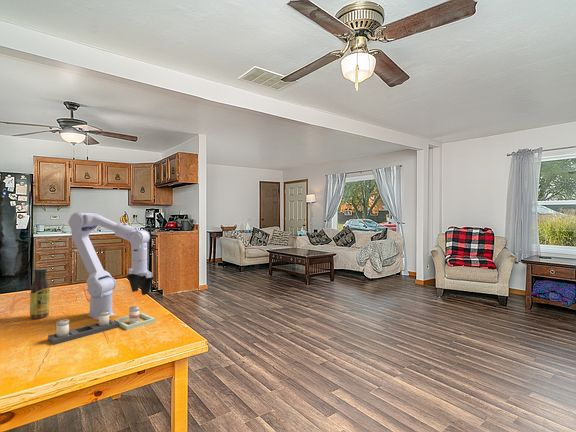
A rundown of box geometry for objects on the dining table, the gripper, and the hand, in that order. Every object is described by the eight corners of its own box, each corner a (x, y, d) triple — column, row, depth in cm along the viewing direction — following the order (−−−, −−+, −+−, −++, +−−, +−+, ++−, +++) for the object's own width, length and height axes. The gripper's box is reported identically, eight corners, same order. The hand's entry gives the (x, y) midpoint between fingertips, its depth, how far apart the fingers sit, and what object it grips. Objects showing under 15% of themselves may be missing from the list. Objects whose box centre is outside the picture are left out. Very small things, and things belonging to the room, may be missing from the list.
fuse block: (47, 340, 109) (47, 335, 109) (110, 324, 124) (110, 319, 124) (53, 346, 104) (53, 340, 104) (117, 329, 120) (117, 323, 120)
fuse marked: (127, 323, 125) (127, 307, 125) (137, 320, 128) (137, 305, 127) (131, 325, 123) (131, 309, 122) (141, 322, 125) (141, 307, 125)
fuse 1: (54, 338, 109) (54, 321, 109) (67, 335, 112) (67, 318, 112) (58, 341, 107) (58, 324, 107) (70, 338, 110) (70, 321, 109)
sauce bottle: (38, 320, 128) (38, 270, 128) (25, 319, 129) (25, 270, 129) (53, 314, 135) (53, 267, 134) (41, 313, 136) (40, 267, 135)
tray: (113, 324, 124) (113, 319, 124) (141, 317, 133) (141, 312, 133) (126, 331, 117) (126, 326, 117) (155, 323, 126) (155, 318, 126)
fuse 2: (96, 328, 119) (96, 312, 119) (107, 325, 122) (107, 309, 122) (100, 330, 117) (100, 314, 117) (111, 327, 120) (111, 311, 119)
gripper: (121, 259, 132) (121, 291, 133) (139, 263, 124) (139, 298, 124) (137, 257, 138) (137, 288, 138) (156, 260, 129) (156, 294, 130)
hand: (139, 292), depth 132 cm, fingers open, 7 cm apart
